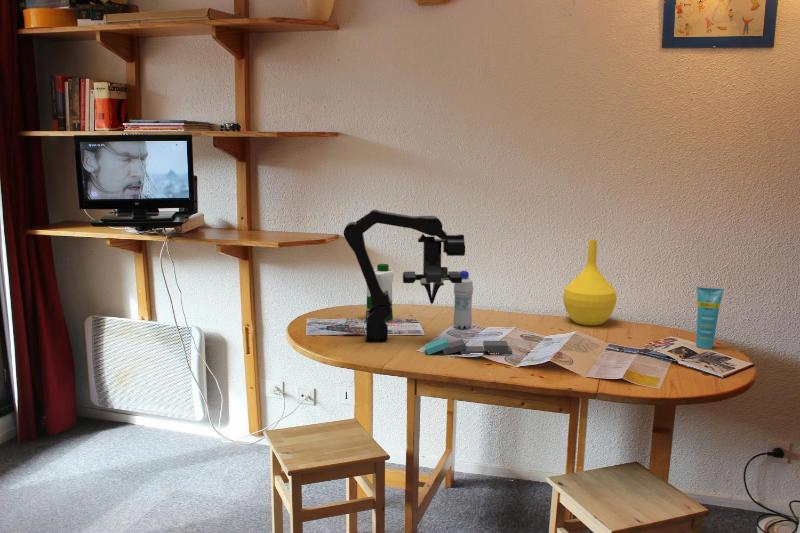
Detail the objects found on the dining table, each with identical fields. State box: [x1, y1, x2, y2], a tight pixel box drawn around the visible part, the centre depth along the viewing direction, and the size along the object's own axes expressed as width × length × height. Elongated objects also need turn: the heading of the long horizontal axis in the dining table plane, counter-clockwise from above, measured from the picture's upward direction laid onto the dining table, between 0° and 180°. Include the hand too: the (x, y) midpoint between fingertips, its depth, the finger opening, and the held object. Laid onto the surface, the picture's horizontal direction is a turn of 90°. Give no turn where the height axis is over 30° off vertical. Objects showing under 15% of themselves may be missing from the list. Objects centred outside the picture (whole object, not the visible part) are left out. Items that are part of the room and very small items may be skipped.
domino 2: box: [441, 338, 467, 356], centre depth 207 cm, size 2×5×7 cm
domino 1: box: [424, 336, 449, 356], centre depth 207 cm, size 2×5×7 cm
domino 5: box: [488, 345, 513, 355], centre depth 207 cm, size 2×5×7 cm
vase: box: [562, 238, 617, 327], centre depth 240 cm, size 18×18×30 cm
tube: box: [695, 286, 724, 350], centre depth 212 cm, size 7×5×19 cm, turn 72°
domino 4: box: [482, 340, 509, 352], centre depth 207 cm, size 2×5×7 cm
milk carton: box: [365, 263, 395, 322], centre depth 242 cm, size 9×9×20 cm
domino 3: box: [459, 345, 485, 355], centre depth 207 cm, size 2×5×7 cm
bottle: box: [453, 270, 474, 330], centre depth 233 cm, size 7×7×20 cm
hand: (431, 303), depth 219 cm, fingers closed
